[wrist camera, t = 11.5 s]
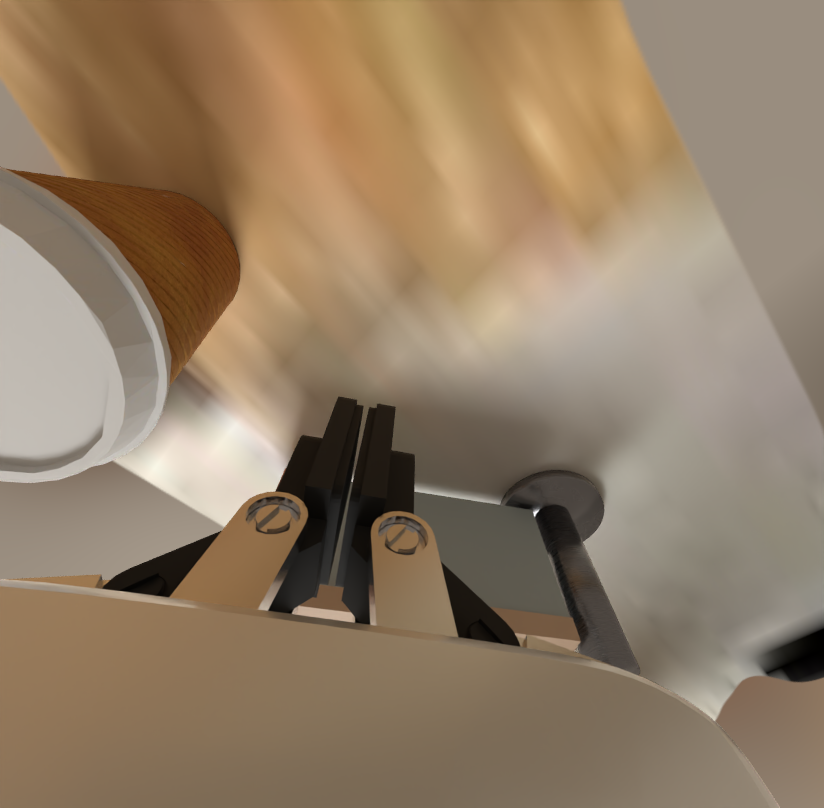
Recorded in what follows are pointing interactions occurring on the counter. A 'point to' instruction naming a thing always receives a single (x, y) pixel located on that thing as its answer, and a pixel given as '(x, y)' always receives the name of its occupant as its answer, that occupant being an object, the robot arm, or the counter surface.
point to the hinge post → (575, 558)
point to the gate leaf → (481, 566)
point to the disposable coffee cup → (98, 315)
